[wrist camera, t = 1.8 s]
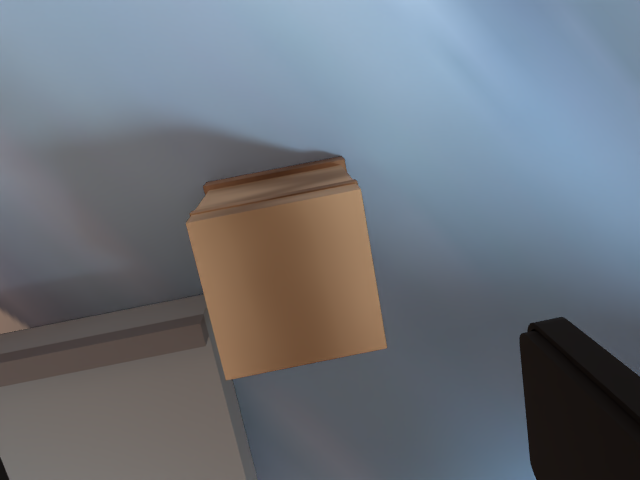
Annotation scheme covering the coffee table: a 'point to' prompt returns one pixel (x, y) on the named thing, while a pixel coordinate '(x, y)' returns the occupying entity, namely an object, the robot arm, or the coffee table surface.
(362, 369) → the coffee table surface
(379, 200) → the coffee table surface
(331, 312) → the pedestal
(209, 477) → the dock
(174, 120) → the coffee table surface
